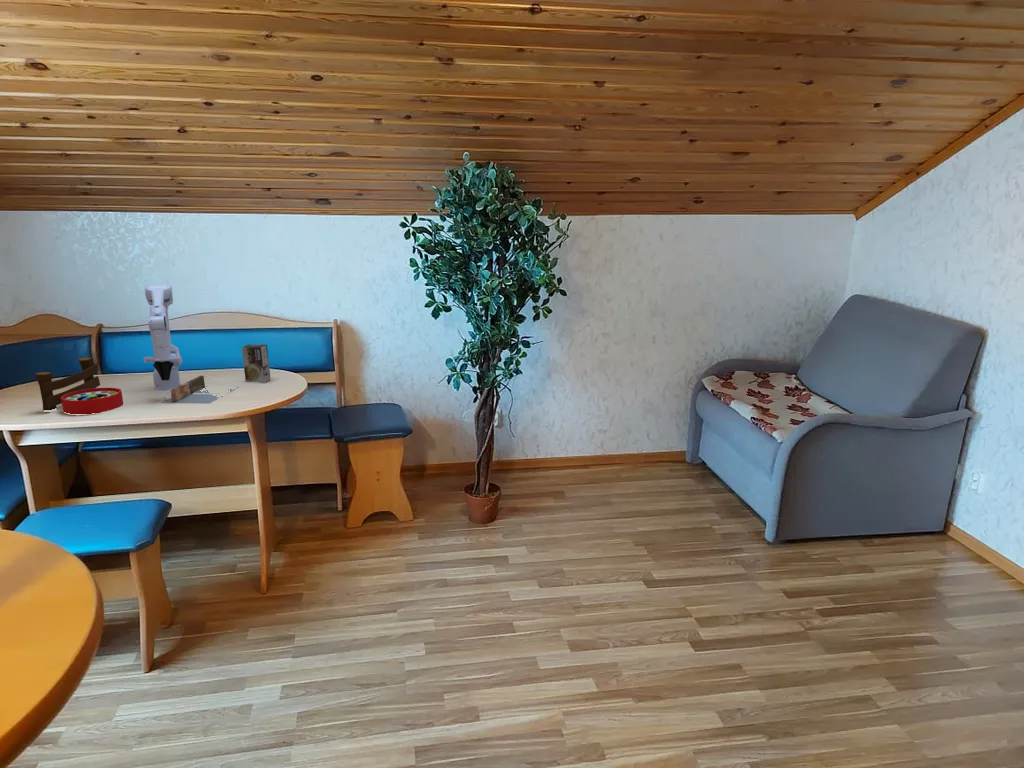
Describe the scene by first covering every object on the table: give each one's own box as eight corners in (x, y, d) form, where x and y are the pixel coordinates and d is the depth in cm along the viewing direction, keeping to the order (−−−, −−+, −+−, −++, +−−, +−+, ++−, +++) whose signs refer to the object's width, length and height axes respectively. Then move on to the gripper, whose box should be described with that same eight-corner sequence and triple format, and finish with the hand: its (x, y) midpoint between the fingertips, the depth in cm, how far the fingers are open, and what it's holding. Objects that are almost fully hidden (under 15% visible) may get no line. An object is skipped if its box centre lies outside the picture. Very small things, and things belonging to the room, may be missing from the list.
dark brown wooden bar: (187, 394, 280) (186, 382, 278) (201, 387, 291) (200, 375, 290) (191, 394, 280) (190, 382, 278) (205, 387, 291) (204, 375, 289)
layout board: (160, 403, 267) (160, 402, 267) (194, 387, 292) (194, 386, 292) (209, 404, 266) (209, 403, 266) (239, 387, 291) (239, 386, 291)
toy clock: (132, 387, 270) (100, 401, 251) (134, 401, 272) (102, 416, 252) (83, 387, 271) (48, 400, 252) (86, 401, 273) (50, 415, 253)
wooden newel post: (187, 393, 279) (185, 382, 278) (191, 393, 279) (189, 382, 278) (171, 401, 267) (169, 389, 266) (175, 401, 267) (173, 389, 266)
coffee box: (271, 379, 305) (267, 344, 301) (264, 383, 299) (261, 347, 295) (251, 379, 306) (248, 344, 302) (244, 382, 300) (241, 346, 296)
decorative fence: (51, 413, 256) (44, 374, 252) (36, 413, 256) (29, 375, 252) (103, 390, 288) (97, 356, 285) (89, 391, 288) (83, 356, 285)
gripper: (137, 348, 263) (142, 382, 267) (173, 348, 262) (178, 382, 266) (147, 344, 270) (152, 378, 273) (183, 345, 269) (187, 378, 273)
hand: (165, 380), depth 270 cm, fingers closed
